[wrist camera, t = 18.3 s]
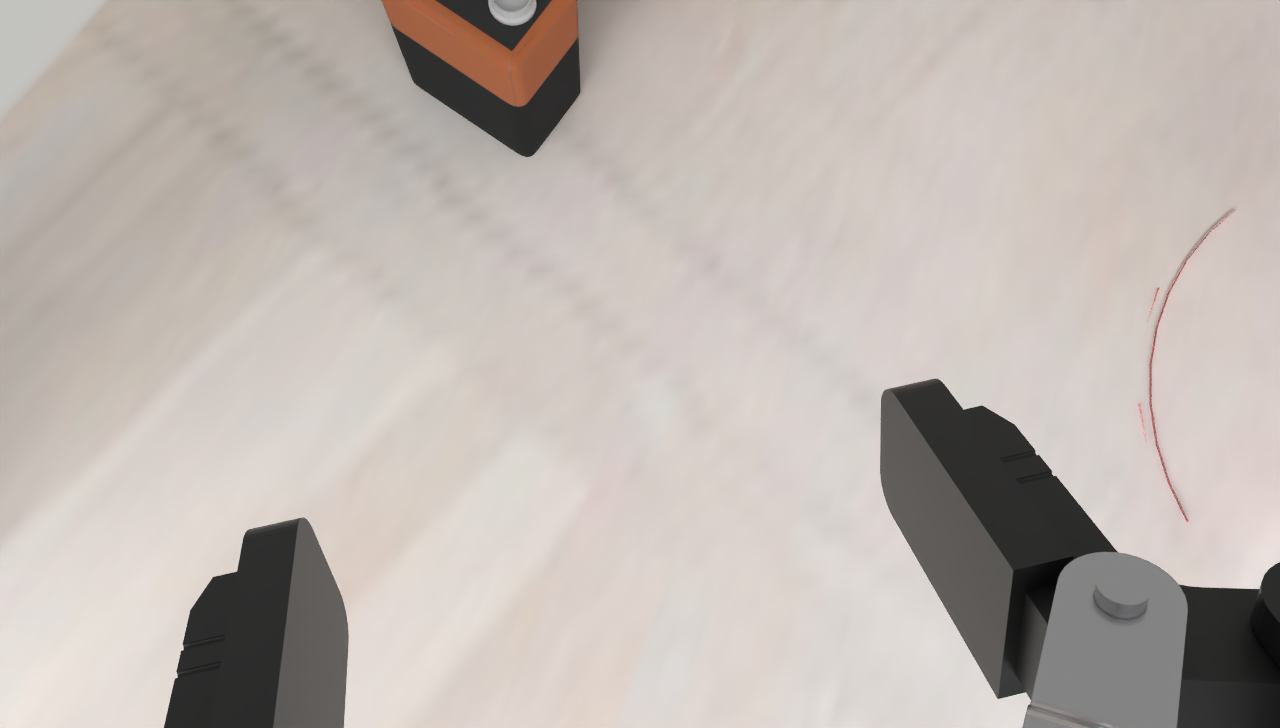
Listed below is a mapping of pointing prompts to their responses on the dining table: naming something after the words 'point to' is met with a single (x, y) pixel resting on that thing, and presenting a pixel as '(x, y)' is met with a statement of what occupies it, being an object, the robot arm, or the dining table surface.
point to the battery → (494, 61)
